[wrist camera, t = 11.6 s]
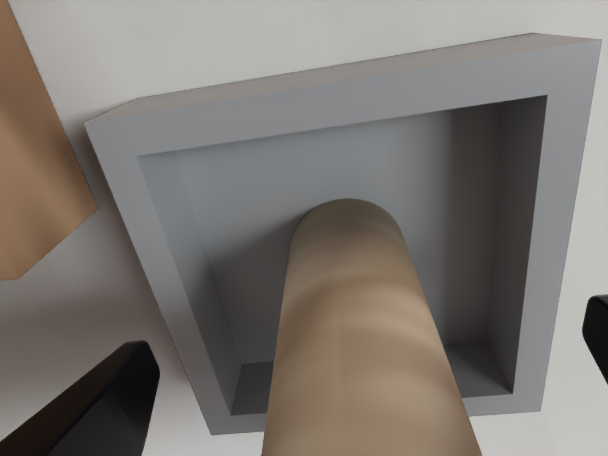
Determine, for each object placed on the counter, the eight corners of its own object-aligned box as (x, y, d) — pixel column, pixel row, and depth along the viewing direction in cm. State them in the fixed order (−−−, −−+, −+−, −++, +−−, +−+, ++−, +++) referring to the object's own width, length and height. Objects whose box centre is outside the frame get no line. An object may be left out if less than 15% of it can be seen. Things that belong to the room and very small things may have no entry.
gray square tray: (503, 344, 14) (540, 411, 11) (228, 369, 15) (211, 435, 12) (532, 32, 9) (602, 39, 7) (136, 98, 10) (83, 122, 8)
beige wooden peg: (401, 191, 11) (512, 443, 4) (406, 290, 12) (495, 583, 6) (280, 206, 11) (225, 461, 5) (299, 300, 12) (277, 589, 6)
